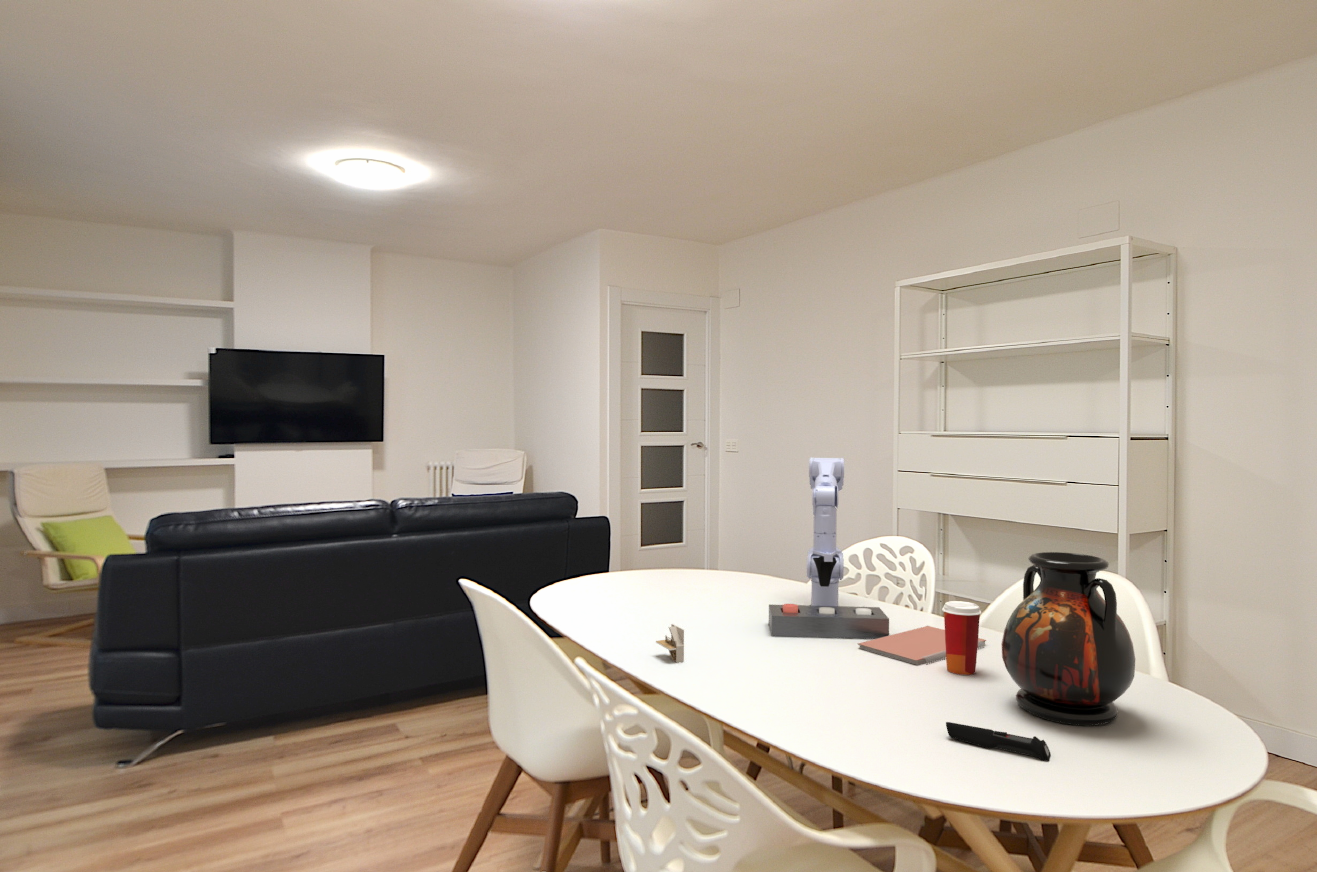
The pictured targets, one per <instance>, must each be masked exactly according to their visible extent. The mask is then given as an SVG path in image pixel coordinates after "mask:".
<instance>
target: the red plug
mask: <svg viewBox="0 0 1317 872" xmlns="http://www.w3.org/2000/svg"><path fill="white" fill-rule="evenodd" d="M782 605H783V612H784V613H798V605H799V604H795V603H784V604H782Z"/></svg>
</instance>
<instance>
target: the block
mask: <svg viewBox="0 0 1317 872" xmlns="http://www.w3.org/2000/svg"><path fill="white" fill-rule="evenodd" d="M797 605H798V613H784V612H783V604H768V627H769V631H770V632H769V633H770V635H771V637H782V638H783V637H785V638H786V637H787V638H817V639H818V638H819V639H820V638H821V639H823V638H825V639H857V640H874V639H878V638H882V637H885V636H889V635H890V617H888V615H886V613H885V612H884V610H882V608H880V607H879V606H842V605H838V606H811V605H805V604H803V605H800V604H797ZM820 607H831V608H834V609H835V614H822V613H819V608H820ZM857 608H868V609H871V615H861V614H856V609H857Z"/></svg>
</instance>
